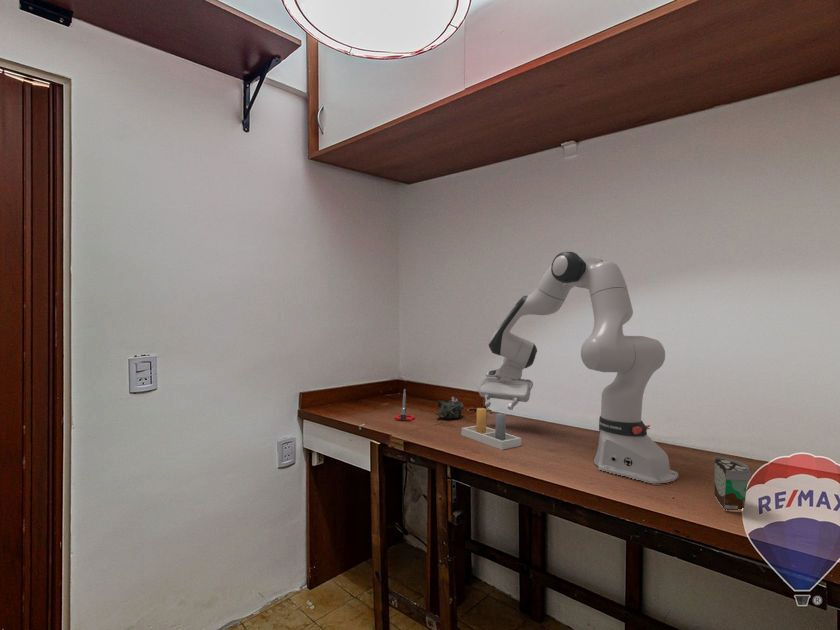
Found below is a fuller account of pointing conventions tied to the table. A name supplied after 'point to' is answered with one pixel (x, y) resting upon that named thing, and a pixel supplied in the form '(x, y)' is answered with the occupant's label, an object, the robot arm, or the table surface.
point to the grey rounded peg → (500, 426)
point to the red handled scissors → (404, 411)
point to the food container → (730, 482)
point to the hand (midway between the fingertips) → (498, 407)
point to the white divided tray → (491, 438)
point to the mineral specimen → (450, 409)
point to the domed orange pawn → (481, 420)
